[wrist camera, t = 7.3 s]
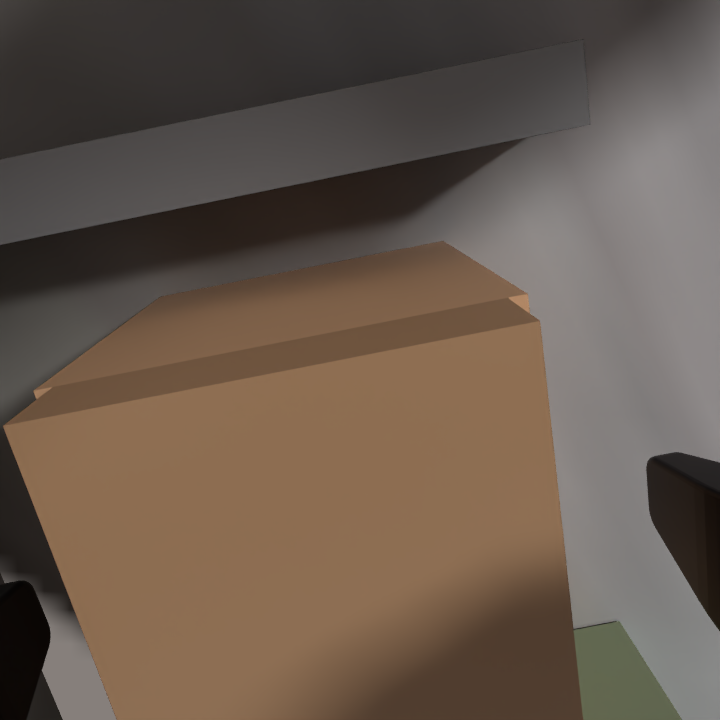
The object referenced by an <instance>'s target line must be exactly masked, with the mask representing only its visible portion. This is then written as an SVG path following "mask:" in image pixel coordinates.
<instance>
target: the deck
mask: <svg viewBox="0 0 720 720" xmlns="http://www.w3.org/2000/svg"><path fill="white" fill-rule="evenodd" d="M585 125H590V114H589V101H588V89H587V77H586V64H585V52H584V40H583V39H581V40H576V41H572V42H567V43H562V44H557V45H552V46H547V47H543V48H538V49H533V50H528V51H523V52H518V53H513V54H509V55H504V56H499V57H494V58H489V59H484V60H479V61H475V62H470V63H465V64H460V65H455V66H450V67H446V68H441V69H436V70H431V71H426V72H421V73H416V74H412V75H407V76H402V77H397V78H392V79H387V80H382V81H378V82H373V83H368V84H363V85H358V86H353V87H349V88H344V89H339V90H334V91H329V92H324V93H319V94H315V95H310V96H305V97H300V98H295V99H290V100H286V101H281V102H276V103H271V104H266V105H261V106H256V107H252V108H247V109H242V110H237V111H232V112H227V113H222V114H218V115H213V116H208V117H203V118H198V119H193V120H189V121H184V122H179V123H174V124H169V125H164V126H159V127H155V128H150V129H145V130H140V131H135V132H130V133H125V134H121V135H116V136H111V137H106V138H101V139H96V140H92V141H87V142H82V143H77V144H72V145H67V146H62V147H58V148H53V149H48V150H43V151H38V152H33V153H29V154H24V155H19V156H14V157H9V158H4V159H0V245H2V244H7V243H12V242H17V241H22V240H27V239H32V238H36V237H41V236H46V235H51V234H56V233H61V232H66V231H71V230H76V229H81V228H85V227H90V226H95V225H100V224H105V223H110V222H115V221H120V220H125V219H130V218H134V217H139V216H144V215H149V214H154V213H159V212H164V211H169V210H174V209H179V208H183V207H188V206H193V205H198V204H203V203H208V202H213V201H218V200H223V199H228V198H232V197H237V196H242V195H247V194H252V193H257V192H262V191H267V190H272V189H277V188H281V187H286V186H291V185H296V184H301V183H306V182H311V181H316V180H321V179H326V178H330V177H335V176H340V175H345V174H350V173H355V172H360V171H365V170H370V169H375V168H379V167H384V166H389V165H394V164H399V163H404V162H409V161H414V160H419V159H424V158H428V157H433V156H438V155H443V154H448V153H453V152H458V151H463V150H468V149H473V148H478V147H482V146H487V145H492V144H497V143H502V142H507V141H512V140H517V139H522V138H527V137H531V136H536V135H541V134H546V133H551V132H556V131H561V130H566V129H571V128H576V127H580V126H585ZM0 584H5V583H4V581H3V579H2V576H1V574H0ZM574 639H575V649H576V658H577V667H578V676H579V685H580V695H581V704H582V713H583V720H682V719H681V717H680V716H679V714H678V713H677V711H676V710H675V708H674V706H673V705H672V703H671V702H670V700H669V699H668V697H667V695H666V694H665V692H664V691H663V689H662V688H661V686H660V684H659V683H658V681H657V680H656V678H655V677H654V675H653V673H652V672H651V670H650V669H649V667H648V666H647V664H646V662H645V661H644V659H643V658H642V656H641V655H640V653H639V651H638V650H637V648H636V647H635V645H634V644H633V642H632V640H631V639H630V637H629V636H628V634H627V633H626V631H625V629H624V628H623V626H622V625H621V623H620V622H619V621H618V622H613V623H608V624H603V625H597V626H592V627H587V628H582V629H576V630H574ZM27 720H63V719H62V717H61V715H60V712H59V710H58V708H57V705H56V703H55V701H54V698H53V696H52V694H51V691H50V689H49V686H48V684H47V682H46V679H45V677H44V675H43V672H42V671H41V674H40V678H39V681H38V684H37V687H36V691H35V694H34V697H33V701H32V704H31V707H30V710H29V714H28V717H27Z"/></svg>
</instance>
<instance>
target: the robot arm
mask: <svg viewBox="0 0 720 720" xmlns="http://www.w3.org/2000/svg"><path fill="white" fill-rule="evenodd" d="M646 471H647V486H648V501H649V511H650V516H651V519H652V522H653V524H654V526H655V528H656V529H657V531H658V533H659V534H660V536H661V538H662V539H663V541H664V543H665V545H666V546H667V548H668V550H669V551H670V553H671V555H672V556H673V558H674V560H675V561H676V563H677V565H678V566H679V568H680V570H681V571H682V573H683V575H684V576H685V578H686V580H687V581H688V583H689V585H690V586H691V588H692V590H693V591H694V593H695V595H696V596H697V598H698V600H699V601H700V603H701V604H702V606H703V608H704V609H705V611H706V612H707V614H708V615H709V617H710V618H711V620H712V621H713V622H714V624H715V625H716V627H717V628H718V629H719V631H720V463H719V462H715V461H711V460H707V459H703V458H700V457H696V456H692V455H688V454H684V453H679V452H674V453H669V454H664V455H658V456H654V457H651V458H650V459H649V460H648V462H647V467H646ZM49 644H50V627H49V624H48V622H47V619H46V617H45V614H44V612H43V609H42V607H41V605H40V602H39V600H38V597H37V595H36V592H35V590H34V588H33V586H32V585H31V584H30V583H29V582H27V581H16V582H10V583H5V584H0V720H27V717H28V714H29V710H30V707H31V704H32V701H33V697H34V694H35V691H36V687H37V684H38V681H39V678H40V674H41V671H42V668H43V664H44V661H45V657H46V654H47V651H48V648H49Z"/></svg>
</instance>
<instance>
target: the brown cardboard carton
mask: <svg viewBox="0 0 720 720" xmlns="http://www.w3.org/2000/svg"><path fill="white" fill-rule="evenodd" d="M34 394H35V397H36V401H34V402H33V403H32V404H30V405H29V406H28V407H27V408H25V409H24V410H23V411H21V412H20V413H19V414H18V415H16V416H15V417H14V418H12V419H11V420H10V421H9V422H7V423H6V424H5V425H3V428H4V430H5V433H6V435H7V438H8V440H9V443H10V446H11V448H12V451H13V453H14V456H15V459H16V461H17V464H18V466H19V469H20V471H21V474H22V477H23V479H24V482H25V484H26V487H27V489H28V492H29V495H30V497H31V500H32V502H33V505H34V508H35V510H36V513H37V515H38V518H39V520H40V523H41V526H42V528H43V531H44V533H45V536H46V538H47V541H48V544H49V546H50V549H51V551H52V554H53V557H54V559H55V562H56V564H57V567H58V569H59V572H60V575H61V577H62V580H63V582H64V585H65V587H66V590H67V593H68V595H69V598H70V600H71V603H72V606H73V608H74V611H75V613H76V616H77V618H78V621H79V624H80V626H81V629H82V631H83V634H84V636H85V639H86V642H87V644H88V647H89V649H90V652H91V654H92V657H93V660H94V662H95V665H96V667H97V670H98V673H99V675H100V678H101V680H102V683H103V685H104V688H105V691H106V693H107V696H108V698H109V701H110V704H111V706H112V709H113V711H114V714H115V716H116V719H117V720H583V713H582V704H581V695H580V685H579V676H578V667H577V658H576V649H575V639H574V630H573V621H572V612H571V603H570V593H569V584H568V575H567V566H566V557H565V547H564V538H563V529H562V520H561V511H560V501H559V492H558V483H557V474H556V465H555V455H554V446H553V437H552V428H551V419H550V409H549V400H548V391H547V382H546V373H545V363H544V354H543V345H542V336H541V327H540V321H539V320H538V319H537V318H535V317H534V316H532V315H531V314H530V310H529V301H528V294H527V293H525V292H524V291H522V290H521V289H519V288H517V287H516V286H514V285H513V284H511V283H509V282H508V281H506V280H505V279H503V278H502V277H500V276H498V275H497V274H495V273H494V272H492V271H490V270H489V269H487V268H486V267H484V266H482V265H481V264H479V263H478V262H476V261H474V260H473V259H471V258H470V257H468V256H466V255H465V254H463V253H462V252H460V251H458V250H457V249H455V248H454V247H452V246H450V245H449V244H447V243H446V242H444V241H440V242H435V243H430V244H425V245H420V246H415V247H410V248H405V249H400V250H395V251H390V252H384V253H379V254H374V255H369V256H364V257H359V258H354V259H349V260H344V261H339V262H334V263H329V264H324V265H319V266H313V267H308V268H303V269H298V270H293V271H288V272H283V273H278V274H273V275H268V276H263V277H258V278H253V279H248V280H242V281H237V282H232V283H227V284H222V285H217V286H212V287H207V288H202V289H197V290H192V291H187V292H182V293H177V294H172V295H166V296H161V297H159V298H158V299H157V300H155V301H154V302H153V303H151V304H150V305H149V306H147V307H146V308H145V309H143V310H142V311H140V312H139V313H138V314H136V315H135V316H134V317H132V318H131V319H130V320H128V321H127V322H126V323H124V324H123V325H122V326H120V327H119V328H118V329H116V330H115V331H113V332H112V333H111V334H109V335H108V336H107V337H105V338H104V339H103V340H101V341H100V342H99V343H97V344H96V345H95V346H93V347H92V348H90V349H89V350H88V351H86V352H85V353H84V354H82V355H81V356H80V357H78V358H77V359H76V360H74V361H73V362H72V363H70V364H69V365H68V366H66V367H65V368H63V369H62V370H61V371H59V372H58V373H57V374H55V375H54V376H53V377H51V378H50V379H49V380H47V381H46V382H45V383H43V384H42V385H41V386H39V387H38V388H36V389H35V390H34Z"/></svg>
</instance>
